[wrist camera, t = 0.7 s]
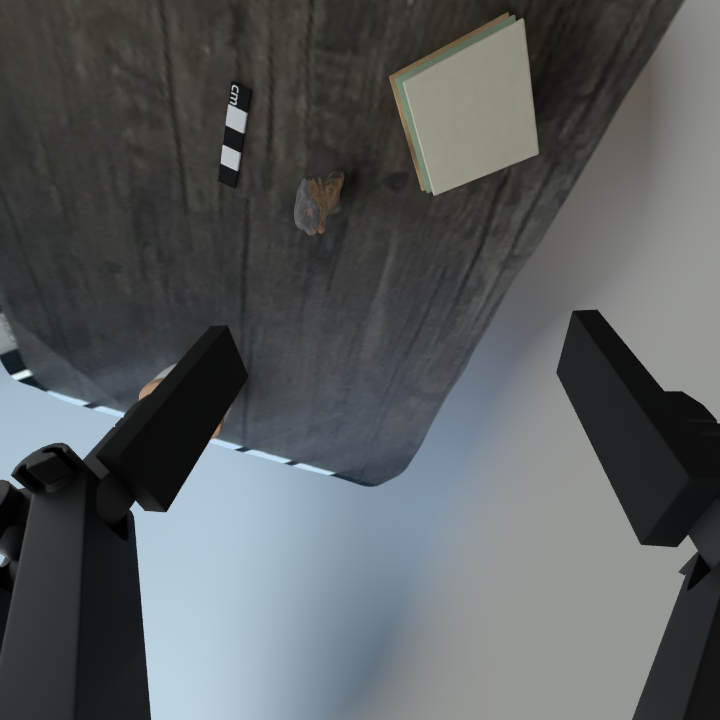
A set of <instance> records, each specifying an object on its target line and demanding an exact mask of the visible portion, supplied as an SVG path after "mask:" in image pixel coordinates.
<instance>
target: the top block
mask: <svg viewBox="0 0 720 720" xmlns="http://www.w3.org/2000/svg"><path fill="white" fill-rule="evenodd" d="M403 85H404V89H405V93H406V96H407V100H408V104H409V107H410V111H411V115H412V118H413V122H414V126H415V129H416V133H417V137H418V140H419V144H420V147H421V151H422V155H423V158H424V162H425V166H426V169H427V173H428V177H429V180H430V184H431V188H432V191H433V195H438V194H440V193H443V192H445V191H448V190H450V189H453V188H455V187H458V186H460V185H463V184H465V183H468V182H470V181H473V180H475V179H478V178H480V177H483V176H485V175H488V174H490V173H493V172H495V171H498V170H500V169H503V168H505V167H508V166H510V165H513V164H515V163H518V162H520V161H523V160H525V159H528V158H530V157H533V156H535V155H538V154H539V147H538V138H537V129H536V120H535V112H534V103H533V94H532V85H531V76H530V67H529V58H528V50H527V41H526V32H525V23H524V19H523V18H522V19H520V20H518V21H516V22H514V23H512V24H510V25H508V26H506V27H505V28H503V29H501V30H499V31H497V32H495V33H493V34H491V35H489V36H488V37H486V38H484V39H482V40H480V41H478V42H476V43H474V44H472V45H470V46H469V47H467V48H465V49H463V50H461V51H459V52H457V53H455V54H453V55H452V56H450V57H448V58H446V59H444V60H442V61H440V62H438V63H436V64H434V65H433V66H431V67H429V68H427V69H425V70H423V71H421V72H419V73H417V74H416V75H414V76H412V77H410V78H408V79H406V80H404V81H403Z"/></svg>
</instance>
